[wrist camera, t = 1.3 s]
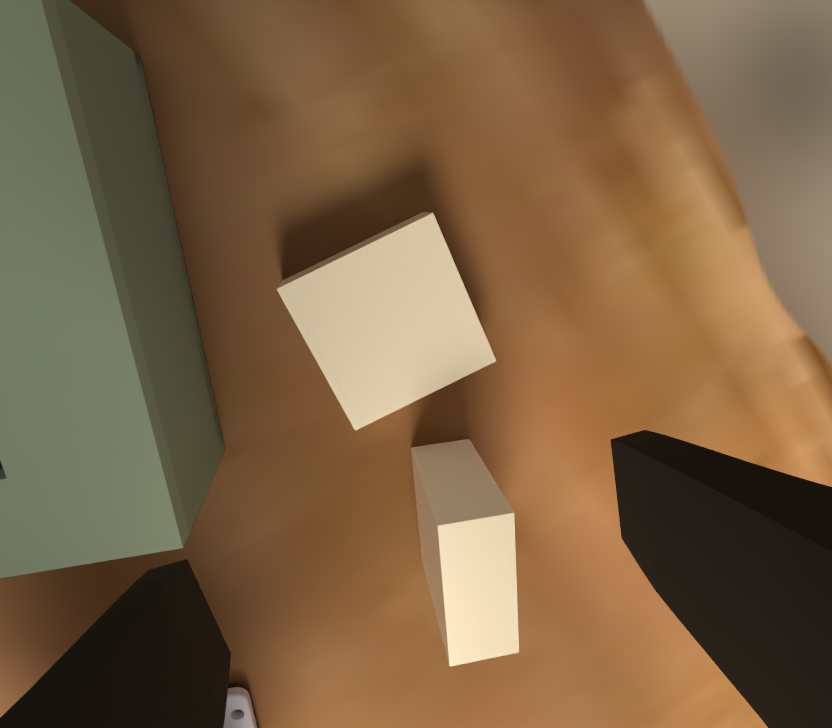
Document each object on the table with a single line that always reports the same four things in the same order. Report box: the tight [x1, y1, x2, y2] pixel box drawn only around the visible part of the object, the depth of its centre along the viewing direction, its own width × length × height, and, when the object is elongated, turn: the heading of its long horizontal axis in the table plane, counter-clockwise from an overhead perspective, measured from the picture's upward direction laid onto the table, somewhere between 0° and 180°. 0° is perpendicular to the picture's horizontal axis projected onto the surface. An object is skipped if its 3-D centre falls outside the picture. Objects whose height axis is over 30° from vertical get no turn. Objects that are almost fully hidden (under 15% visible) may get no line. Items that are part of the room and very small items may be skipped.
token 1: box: [277, 212, 496, 430], centre depth 17 cm, size 5×5×2 cm
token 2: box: [411, 439, 519, 666], centre depth 18 cm, size 5×2×5 cm, turn 5°
